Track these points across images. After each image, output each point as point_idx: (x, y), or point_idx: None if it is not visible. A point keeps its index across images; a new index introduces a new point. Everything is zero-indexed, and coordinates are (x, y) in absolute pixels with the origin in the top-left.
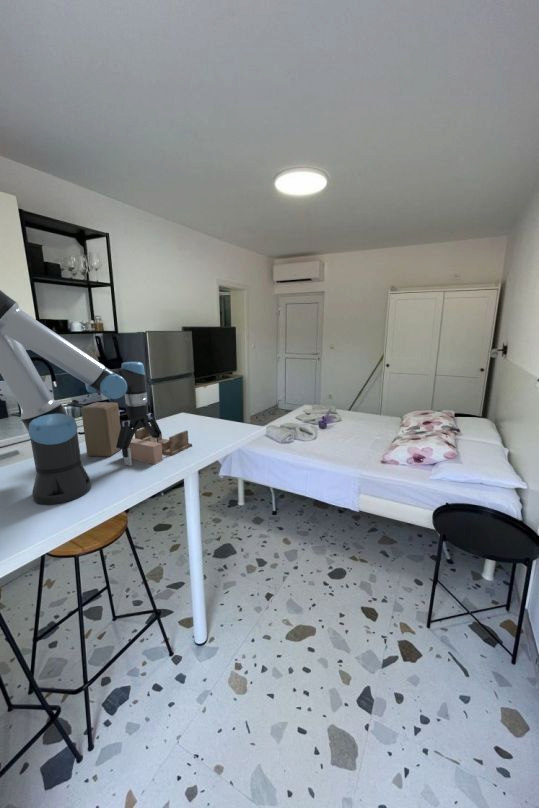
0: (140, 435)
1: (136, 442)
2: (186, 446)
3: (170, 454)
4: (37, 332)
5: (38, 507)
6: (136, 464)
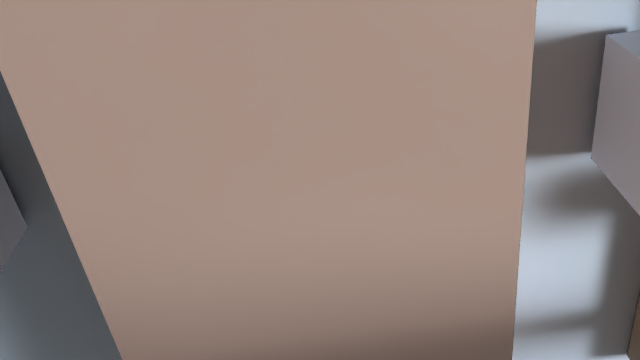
0: None
1: (198, 341)
2: None
3: (636, 336)
4: None
5: None
6: None
